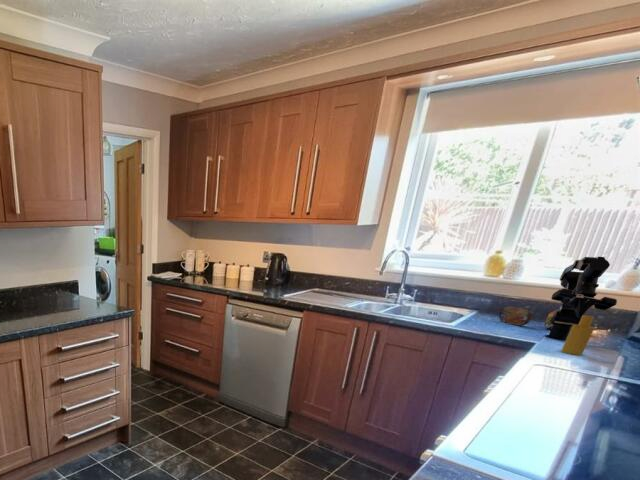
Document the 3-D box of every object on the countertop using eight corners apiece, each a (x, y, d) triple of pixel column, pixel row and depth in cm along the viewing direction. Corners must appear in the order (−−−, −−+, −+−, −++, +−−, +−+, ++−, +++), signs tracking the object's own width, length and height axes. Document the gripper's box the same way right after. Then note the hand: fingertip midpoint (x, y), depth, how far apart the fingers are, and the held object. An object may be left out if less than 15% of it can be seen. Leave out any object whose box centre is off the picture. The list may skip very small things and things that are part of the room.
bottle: (568, 350, 174) (585, 314, 169) (585, 354, 169) (603, 318, 163) (557, 350, 173) (573, 314, 167) (574, 355, 168) (591, 318, 162)
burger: (565, 328, 215) (573, 308, 211) (587, 335, 202) (596, 314, 199) (535, 326, 217) (543, 306, 213) (555, 332, 204) (564, 312, 201)
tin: (496, 320, 227) (502, 304, 224) (501, 320, 227) (507, 304, 224) (523, 327, 213) (530, 310, 210) (529, 327, 213) (535, 310, 210)
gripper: (599, 298, 181) (592, 330, 179) (546, 288, 188) (539, 319, 185) (621, 286, 171) (613, 320, 169) (564, 275, 177) (556, 308, 175)
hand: (579, 317), depth 174 cm, fingers closed
